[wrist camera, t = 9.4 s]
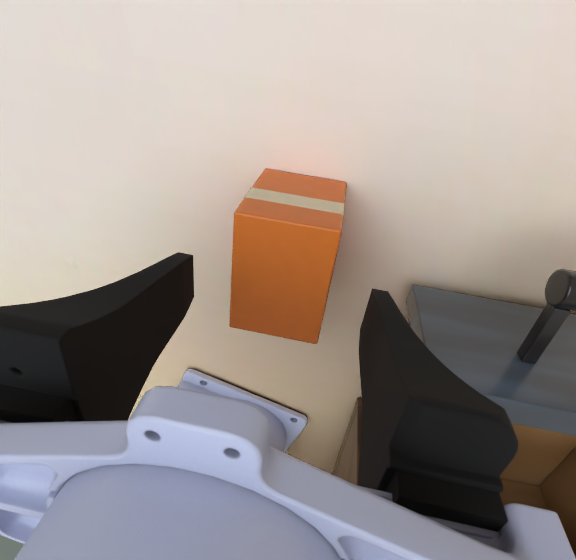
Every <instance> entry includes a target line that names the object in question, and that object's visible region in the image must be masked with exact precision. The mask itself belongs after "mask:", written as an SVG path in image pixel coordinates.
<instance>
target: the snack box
mask: <svg viewBox="0 0 576 560" xmlns="http://www.w3.org/2000/svg"><path fill="white" fill-rule="evenodd" d="M345 193H346V182H342V181H336V180H331V179H325V178H319V177H313V176H307V175H301V174H295V173H289V172H283V171H277V170H272V169H265V170H264V171H263V173H262V174H261V176H260V177H259V178H258V180H257V181H256V183H255V184H254V185H253V187H252V188H250V190H249V191H248V193H247V194H246V195H245V197H244V200H243V201H242V202H241V204H240V205H239V207H238V208H237V210H236V211H235V213H234V230H233V253H232V277H231V300H230V324H229V325H230V327H233V328H238V329H243V330H248V331H253V332H258V333H263V334H268V335H273V336H278V337H283V338H288V339H293V340H298V341H303V342H308V343H313V344H317V342H318V338H319V333H320V329H321V324H322V320H323V315H324V311H325V306H326V301H327V297H328V292H329V288H330V283H331V279H332V274H333V269H334V265H335V260H336V256H337V251H338V247H339V242H340V237H341V233H342V223H343V217H344V209H345V204H344V203H345Z"/></svg>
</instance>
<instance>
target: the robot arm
mask: <svg viewBox="0 0 576 560" xmlns="http://www.w3.org/2000/svg"><path fill="white" fill-rule="evenodd" d="M193 297H194V278H193V255H189V254H184V253H176V254H174V255H172V256H169V257H167V258H165V259H163V260H162V261H160V262H158V263H156V264H154V265H152V266H150V267H148V268H146V269H144V270H142V271H139V272H137V273H135V274H133V275H130V276H128V277H126V278H124V279H121V280H119V281H117V282H114V283H111V284H109V285H106V286H103V287H100V288H97V289H94V290H91V291H87V292H83V293H79V294H76V295H72V296H68V297H63V298H59V299H54V300H48V301H42V302H36V303H29V304H20V305H11V306H1V307H0V535H2V536H5V537H7V538H10V539H12V540H15V541H18V542H20V543H23V544H24V546H23V547H22V549H21V550H20V552H19V553H18V555H17V556H16V558H15V559H14V560H576V558H575V555H574V553H573V550H572V548H571V545H570V543H569V541H568V538H567V536H566V533H565V531H564V529H563V526H562V524H561V521H560V519H559V516H558V514H557V513H556V512H554V511H550V510H546V509H541V508H536V507H532V506H527V505H523V504H517V503H510V504H505V505H504V506H503V503H502V500H501V497H500V494H499V493H501V492H502V491H503V485H502V482H501V478H500V475H501V474H502V472H503V471H504V470H505V469H506V467H507V466H508V465H509V463H510V462H511V461H512V459H513V458H514V457H515V455H516V453H517V451H518V439H517V437H516V434H515V431H514V428H513V426H512V423H511V421H510V419H509V417H508V415H507V413H506V411H505V409H504V408H503V407H501V406H499V405H498V404H496V403H495V402H493V401H492V400H490V399H488V398H487V397H485V396H484V395H482V394H481V393H479V392H478V391H476V390H475V389H474V388H472V387H471V386H469V385H468V384H467V383H465V382H464V381H463V380H462V379H460V378H459V377H458V376H457V375H455V374H454V373H453V372H452V371H451V370H450V369H448V368H447V367H446V366H445V365H444V364H443V363H442V362H441V361H440V360H439V359H438V358H437V357H436V356H435V355H434V354H433V353H432V352H431V351H430V350H429V349H428V348H427V347H426V346H425V345H424V343H423V342H422V341H421V340H420V339H419V337H418V336H417V335H416V334H415V332H414V331H413V330H412V328H411V327H410V325H409V324H408V323H407V321H406V320H405V318H404V317H403V315H402V314H401V312H400V310H399V309H398V307H397V305H396V304H395V302H394V300H393V299H392V297H391V296H390V294H389V292H387V291H382V290H377V289H372V291H371V295H370V298H369V301H368V305H367V308H366V312H365V315H364V319H363V322H362V325H361V329H360V341H359V361H360V376H361V391H362V424H361V443H360V459H359V473H358V486H357V485H354V484H352V483H350V482H348V481H345V480H343V479H341V478H339V477H337V476H334V475H332V474H330V473H328V472H326V471H323V470H321V469H319V468H317V467H315V466H312V465H310V464H308V463H306V462H304V461H301V460H299V459H297V458H295V457H293V456H290V455H288V454H286V453H285V452H286V451H287V449H288V448H289V447H290V445H291V444H292V443H293V442H294V440H295V439H296V438H297V436H298V435H299V434H300V432H301V431H302V430H303V429H304V427H305V426H306V425H307V420H308V419H307V417H306V416H305V415H303V414H300V413H298V412H296V411H293V410H291V409H288V408H286V407H283V406H281V405H279V404H276V403H274V402H271V401H269V400H266V399H264V398H262V397H259V396H257V395H254V394H252V393H250V392H247V391H245V390H242V389H240V388H237V387H235V386H233V385H230V384H228V383H225V382H223V381H220V380H218V379H216V378H213V377H211V376H208V375H206V374H204V373H201V372H199V371H196V370H194V369H187V370H186V371H185V373H184V375H183V378H182V380H181V382H180V384H179V386H178V388H177V387H171V386H156V387H154V388H152V389H150V390H149V391H147V392H145V394H144V396H143V397H142V399H141V401H140V402H139V404H138V406H137V407H136V409H135V411H134V412H133V414H132V416H131V417H130V419H129V420H128V418H129V416H130V413H131V411H132V409H133V407H134V404H135V402H136V400H137V398H138V396H139V394H140V392H141V389H142V387H143V385H144V383H145V381H146V379H147V377H148V375H149V373H150V371H151V369H152V367H153V365H154V364H155V362H156V360H157V359H158V357H159V355H160V354H161V352H162V351H163V349H164V348H165V346H166V345H167V343H168V342H169V340H170V339H171V337H172V336H173V334H174V333H175V331H176V329H177V328H178V326H179V325H180V323H181V322H182V320H183V319H184V317H185V315H186V313H187V311H188V309H189V307H190V304H191V302H192V300H193Z"/></svg>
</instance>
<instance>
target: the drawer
mask: <svg viewBox="0 0 576 560" xmlns="http://www.w3.org/2000/svg"><path fill="white" fill-rule="evenodd" d="M545 297H546V300H547V302H548V303H547V304H546V306H545V307H544V309H542V308H537V307H531V306H526V305H521V304H515V303H510V302H504V301H499V300H494V299H488V298H483V297H477V296H472V295H467V294H461V293H456V292H451V291H445V290H440V289H434V288H429V287H424V286H418V285H412V288H411V290H410V293H409V296H408V299H407V301H406V303H407V309H408V315H409V321H410V327H411V328H412V330H413V331H414V332H415V334H416V335H417V336H418V337H419V339H420V340H421V341H422V342H423V343H424V345H425V346H426V347H427V348H428V349H429V350H430V351H431V352H432V353H433V354H434V355H435V356H436V357H437V358H438V359H439V360H440V361H441V362H442V363H443V364H444V365H445V366H446V367H447V368H448V369H450V370H451V371H452V372H453V373H454V374H455V375H457V376H458V377H459V378H460V379H462V380H463V381H464V382H465V383H467V384H468V385H469V386H471V387H472V388H474V389H475V390H476V391H478V392H479V393H481V394H482V395H484V396H485V397H487V398H488V399H490V400H492V401H493V402H495V403H496V404H498V405H499V406H501V407H503V408H504V409H505V411H506V413H507V415H508V417H509V419H510V421H511V423H512V426H513V428H514V431H515V434H516V437H517V439H518V451H517V453H516V455H515V457H514V458H513V459H512V461H511V462H510V463H509V465H508V466H507V467H506V469H505V470H504V471H503V472H502V474H501V475H500V478H501V482H502V485H503V491H502V492H501V493H499V494H500V497H501V500H502V503H503V506H504V505H505V504H510V503H517V504H523V505H527V506H532V507H536V508H541V509H546V510H550V511H554V512H556V513H557V514H558V516H559V519H560V521H561V524H562V526H563V529H564V531H565V533H566V536H567V538H568V541H569V543H570V545H571V548H572V550H573V553H574V555H575V558H576V315H574V314H570V312H571V311H570V310H575V311H576V271H571V270H566V269H560V270H557V271H555V272H554V273H553V274H552V275H551V276H550V277H549V279H548V281H547V284H546V288H545Z"/></svg>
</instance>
